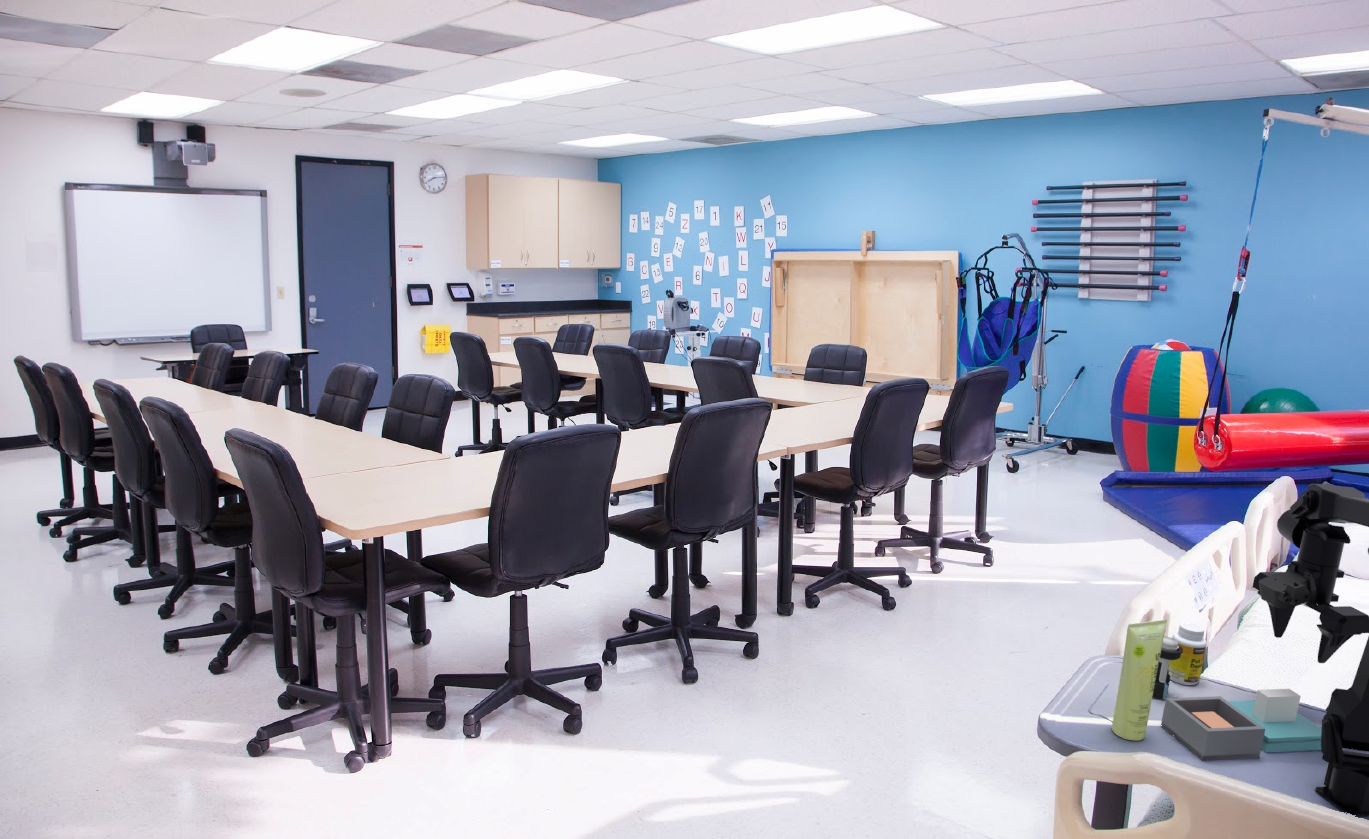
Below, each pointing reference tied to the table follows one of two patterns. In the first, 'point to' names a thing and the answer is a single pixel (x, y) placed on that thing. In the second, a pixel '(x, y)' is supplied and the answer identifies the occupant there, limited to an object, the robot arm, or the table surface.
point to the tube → (1138, 678)
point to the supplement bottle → (1188, 654)
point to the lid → (1281, 721)
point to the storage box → (1212, 728)
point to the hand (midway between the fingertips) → (1298, 649)
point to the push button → (1165, 666)
